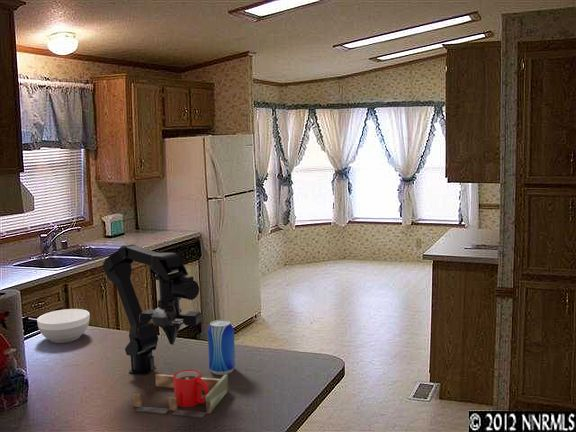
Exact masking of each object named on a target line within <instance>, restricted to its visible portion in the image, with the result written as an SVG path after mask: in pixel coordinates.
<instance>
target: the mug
mask: <svg viewBox="0 0 576 432" xmlns="http://www.w3.org/2000/svg"><path fill="white" fill-rule="evenodd" d="M173 375H174V376H173V381H174V388H173V397H177V407H182V408H189V407H195V406H197V405H200V404H206V398H205V396H206V395H207V394H208V393H209V392H210V391H209V388H208V386H207V384H206V383H205V382H204V381H203V380H201V377H202V372H200V370H197V369H183V370H179V371H177V372H176V373H174V374H173ZM202 387H203V389H204V390H202ZM203 391H204V396H203Z"/></svg>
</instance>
